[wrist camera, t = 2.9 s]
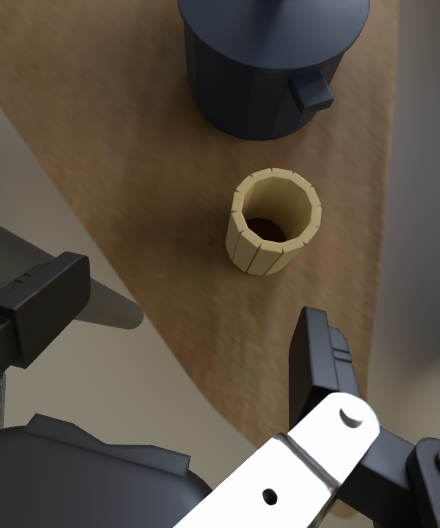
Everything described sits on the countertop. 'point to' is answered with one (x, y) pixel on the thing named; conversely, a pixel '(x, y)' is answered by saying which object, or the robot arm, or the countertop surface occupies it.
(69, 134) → the countertop surface
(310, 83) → the pot
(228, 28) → the pot lid
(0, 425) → the robot arm
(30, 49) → the countertop surface
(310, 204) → the pale yellow hollow cylinder
